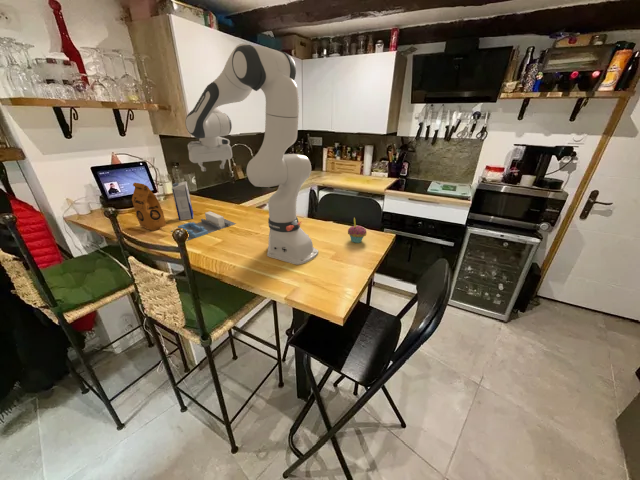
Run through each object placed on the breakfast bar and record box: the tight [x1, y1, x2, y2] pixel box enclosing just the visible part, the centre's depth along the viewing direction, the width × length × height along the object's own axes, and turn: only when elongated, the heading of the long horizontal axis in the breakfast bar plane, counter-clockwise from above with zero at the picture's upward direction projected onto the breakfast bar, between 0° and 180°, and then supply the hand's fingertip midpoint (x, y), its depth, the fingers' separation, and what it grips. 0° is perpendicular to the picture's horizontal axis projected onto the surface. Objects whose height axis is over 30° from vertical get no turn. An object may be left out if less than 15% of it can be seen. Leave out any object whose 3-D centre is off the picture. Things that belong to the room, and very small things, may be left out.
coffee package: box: [131, 182, 167, 232], centre depth 127 cm, size 10×12×22 cm
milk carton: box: [171, 181, 194, 221], centre depth 137 cm, size 7×7×20 cm
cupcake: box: [347, 217, 367, 244], centre depth 118 cm, size 9×8×12 cm
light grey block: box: [204, 210, 225, 227], centre depth 133 cm, size 12×3×5 cm, turn 52°
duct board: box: [170, 218, 237, 242], centre depth 129 cm, size 16×26×3 cm, turn 142°
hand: (213, 169), depth 129 cm, fingers open, 8 cm apart
